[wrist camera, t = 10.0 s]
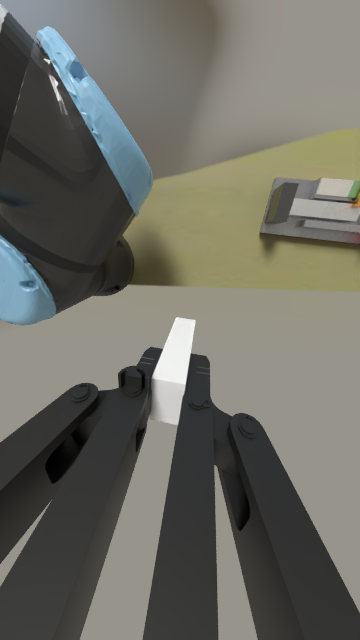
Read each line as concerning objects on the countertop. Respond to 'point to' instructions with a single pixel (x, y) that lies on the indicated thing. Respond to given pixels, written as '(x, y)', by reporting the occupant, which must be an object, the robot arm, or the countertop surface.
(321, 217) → the plunger
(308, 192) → the gauge body
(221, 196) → the countertop surface
